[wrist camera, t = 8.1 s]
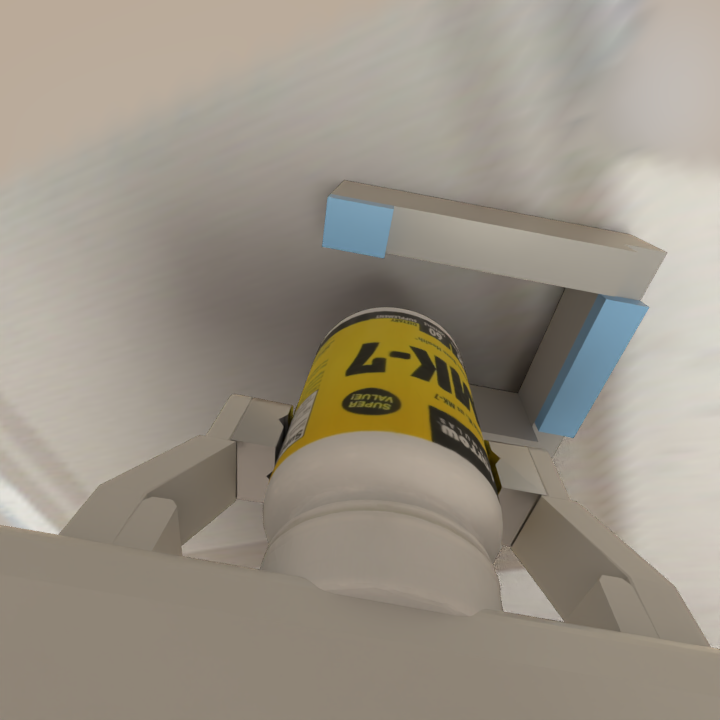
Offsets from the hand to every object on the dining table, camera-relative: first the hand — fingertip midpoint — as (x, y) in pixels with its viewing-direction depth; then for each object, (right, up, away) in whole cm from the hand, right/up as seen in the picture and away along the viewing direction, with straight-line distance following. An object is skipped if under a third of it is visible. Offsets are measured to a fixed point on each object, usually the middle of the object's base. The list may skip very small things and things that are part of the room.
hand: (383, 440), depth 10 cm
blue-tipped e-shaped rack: (+3, +1, +10) cm, 10 cm away
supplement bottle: (0, +2, +3) cm, 4 cm away
